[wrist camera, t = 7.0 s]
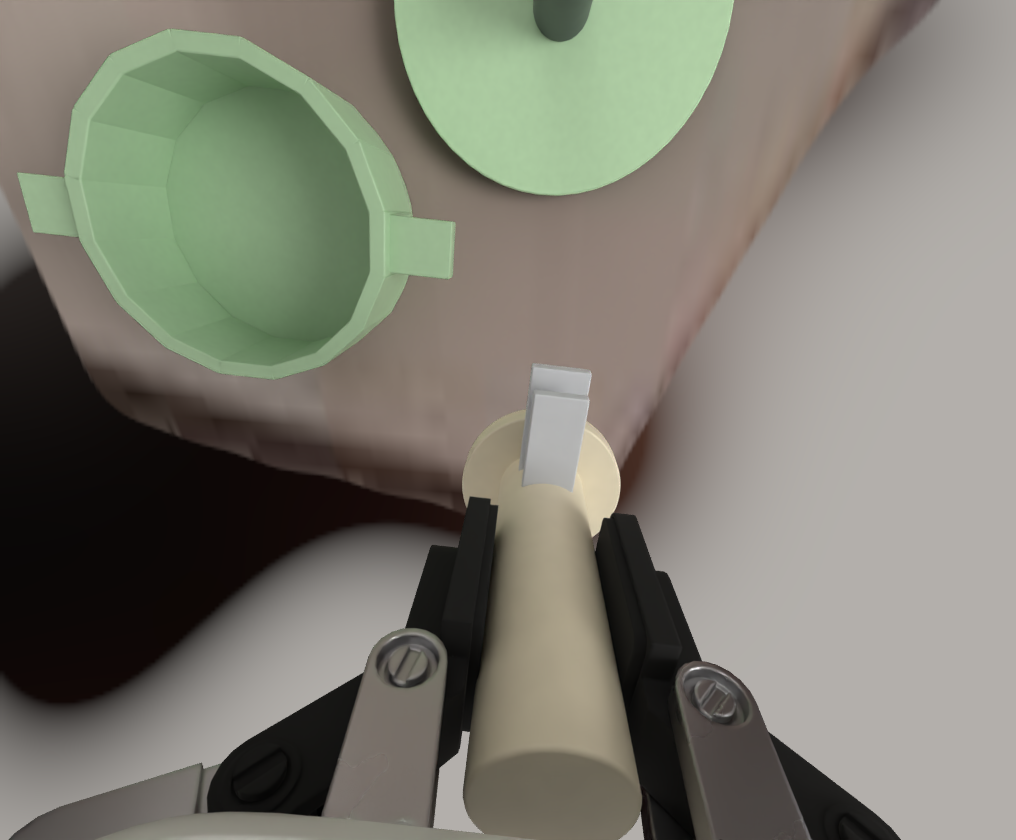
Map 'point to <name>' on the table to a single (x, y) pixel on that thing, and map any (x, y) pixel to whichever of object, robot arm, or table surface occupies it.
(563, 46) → the lid
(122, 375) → the table surface
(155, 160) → the pot
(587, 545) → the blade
